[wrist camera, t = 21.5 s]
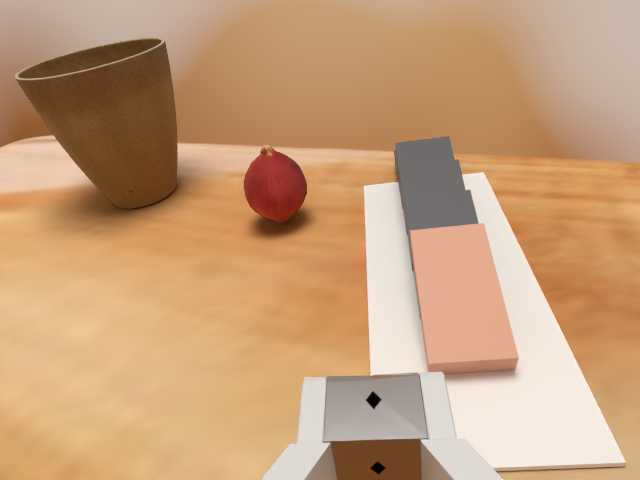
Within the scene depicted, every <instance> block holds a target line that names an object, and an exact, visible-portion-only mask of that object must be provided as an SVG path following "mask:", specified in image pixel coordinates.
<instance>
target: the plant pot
mask: <svg viewBox="0 0 640 480" xmlns="http://www.w3.org/2000/svg"><path fill="white" fill-rule="evenodd" d="M15 78H16V80H17V82H18V83H19V85H20V86H21V88H22V90H23V91H24V93H25V94H26V96H27V97H28V99H29V100H30V102H31V103H32V105H33V106H34V108H35V109H36V111H37V112H38V114H39V115H40V117H41V118H42V120H43V121H44V122H45V124H46V125H47V127H48V128H49V129H50V131H51V132H52V133H53V135H54V136H55V138H56V139H57V140H58V142H59V143H60V144H61V146H62V147H63V148H64V149H65V151H66V152H67V153H68V154H69V156H70V157H71V158H72V159H73V161H74V162H75V163H76V164H77V165H78V167H79V168H80V169H81V170H82V171H83V172H84V173H85V175H86V176H87V177H88V178H89V179H90V180H91V181H92V182H93V183H94V184H95V185H96V186H97V188H98V189H99V190H100V191H101V192H102V193H103V194H104V195H105V196H106V197H107V198H108V199H109V200H110V201H111V202H112V203H113V204H114V205H115V206H117V207H119V208H127V209H130V208H138V207H143V206H147V205H150V204H153V203H155V202H158V201H160V200H162V199H164V198H165V197H167V196H168V195H170V194H171V193H172V192H173V191H174V190H175V188H176V181H177V124H176V111H175V102H174V92H173V84H172V78H171V72H170V65H169V60H168V54H167V49H166V44H165V40H164V39H162V38H141V39H132V40H126V41H120V42H115V43H110V44H105V45H100V46H96V47H91V48H87V49H83V50H79V51H75V52H72V53H68V54H64V55H61V56H58V57H55V58H52V59H48V60H46V61H43V62H40V63H38V64H35V65H32V66H30V67H28V68H25V69H23V70H22V71H20V72H18V73H17V74H16V75H15Z"/></svg>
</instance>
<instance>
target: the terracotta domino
mask: <svg viewBox="0 0 640 480" xmlns="http://www.w3.org/2000/svg"><path fill="white" fill-rule="evenodd" d="M410 238H411V250H412V257H413V264H414V272H415V279H416V286H417V294H418V301H419V309H420V316H421V323H422V331H423V338H424V345H425V353H426V360H427V367H428V372H443V374H459V373H475V372H491V371H507V370H515V369H516V365H517V362H518V359H519V357H518V353H517V349H516V345H515V341H514V337H513V333H512V330H511V326H510V322H509V318H508V314H507V310H506V306H505V303H504V299H503V295H502V291H501V287H500V283H499V279H498V276H497V272H496V268H495V264H494V260H493V256H492V252H491V249H490V245H489V241H488V237H487V233H486V229H485V225H484V223H479V224H469V225H459V226H449V227H439V228H429V229H419V230H410Z"/></svg>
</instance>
